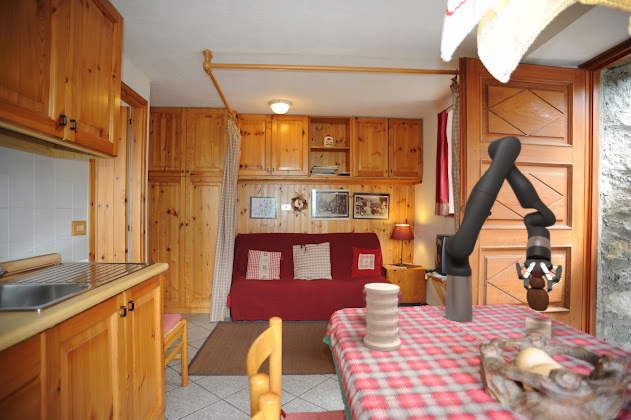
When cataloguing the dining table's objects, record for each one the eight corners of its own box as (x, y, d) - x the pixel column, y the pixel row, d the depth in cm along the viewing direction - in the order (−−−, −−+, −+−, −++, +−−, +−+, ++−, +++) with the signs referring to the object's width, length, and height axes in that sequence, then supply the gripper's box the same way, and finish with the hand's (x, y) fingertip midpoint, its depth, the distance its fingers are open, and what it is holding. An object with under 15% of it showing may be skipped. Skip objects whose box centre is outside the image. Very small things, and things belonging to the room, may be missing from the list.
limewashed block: (525, 335, 109) (525, 320, 109) (527, 330, 114) (526, 316, 114) (551, 340, 105) (550, 324, 105) (551, 335, 110) (551, 320, 110)
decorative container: (402, 339, 105) (402, 284, 105) (399, 353, 94) (399, 291, 95) (366, 335, 109) (366, 281, 109) (360, 348, 98) (360, 288, 98)
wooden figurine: (552, 313, 106) (551, 267, 106) (533, 312, 107) (531, 267, 108) (542, 307, 113) (541, 264, 113) (524, 307, 114) (522, 264, 114)
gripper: (514, 243, 121) (511, 281, 111) (562, 245, 112) (564, 285, 102) (516, 256, 125) (513, 293, 115) (563, 259, 116) (564, 299, 106)
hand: (537, 289), depth 108 cm, fingers closed on wooden figurine, 5 cm apart
